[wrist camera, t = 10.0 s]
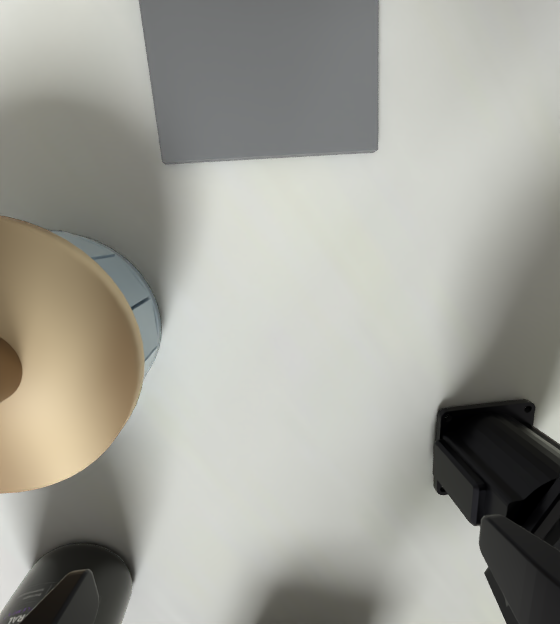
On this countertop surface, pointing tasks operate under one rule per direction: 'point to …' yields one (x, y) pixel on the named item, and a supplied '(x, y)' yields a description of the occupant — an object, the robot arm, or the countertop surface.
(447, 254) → the countertop surface
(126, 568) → the supplement bottle
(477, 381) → the countertop surface
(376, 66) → the mat
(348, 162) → the countertop surface
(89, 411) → the lid
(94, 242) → the bowl
